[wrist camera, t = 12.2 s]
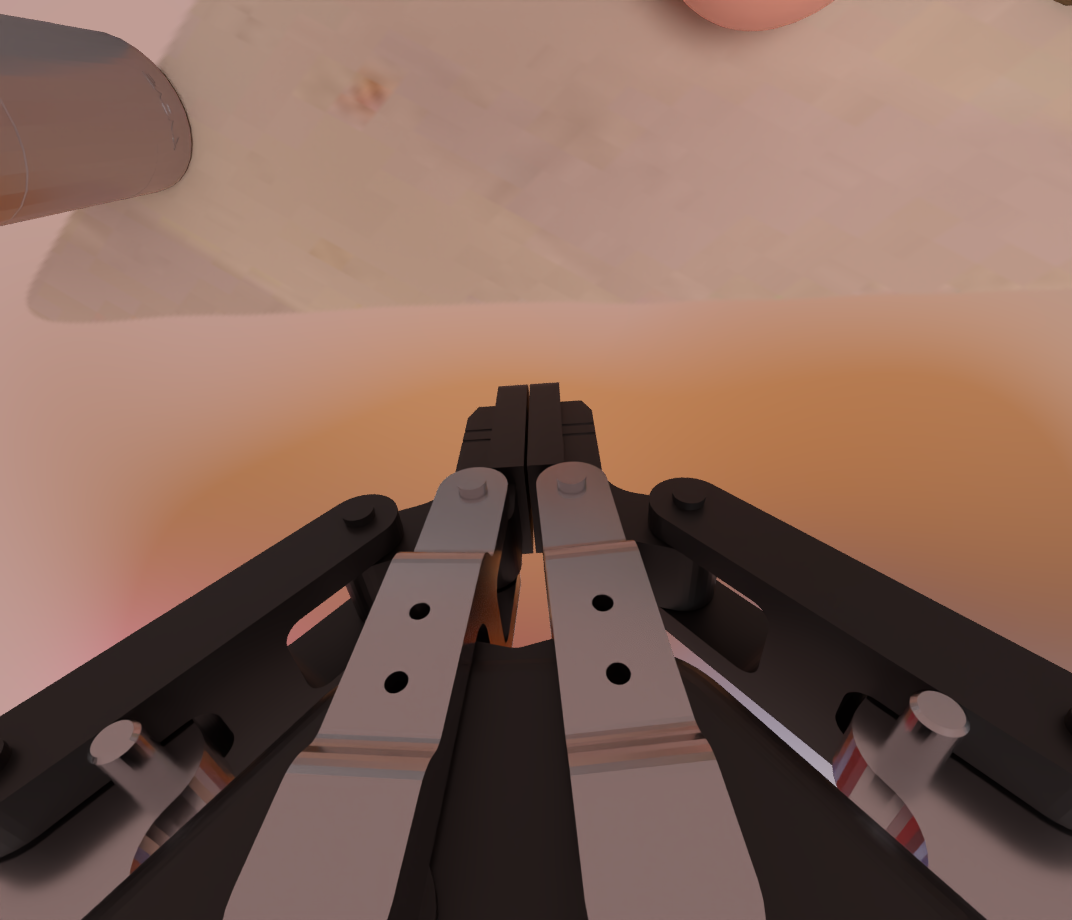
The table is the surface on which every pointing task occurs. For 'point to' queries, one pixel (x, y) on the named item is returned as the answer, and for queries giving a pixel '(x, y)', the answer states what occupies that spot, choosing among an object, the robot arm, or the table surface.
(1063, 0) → the cork
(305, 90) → the table surface
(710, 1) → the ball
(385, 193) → the table surface
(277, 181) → the table surface
